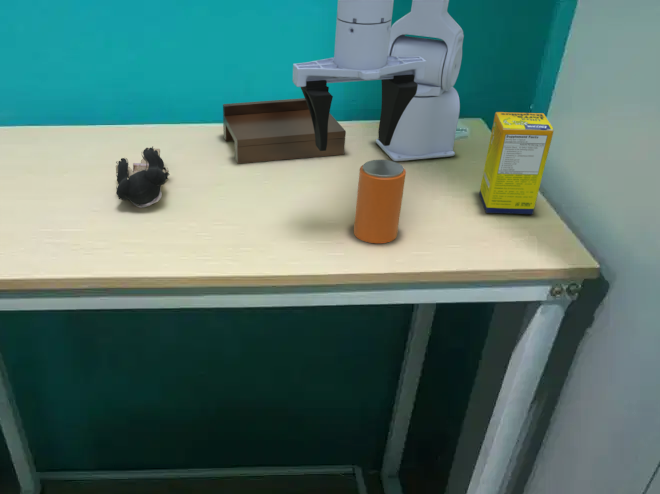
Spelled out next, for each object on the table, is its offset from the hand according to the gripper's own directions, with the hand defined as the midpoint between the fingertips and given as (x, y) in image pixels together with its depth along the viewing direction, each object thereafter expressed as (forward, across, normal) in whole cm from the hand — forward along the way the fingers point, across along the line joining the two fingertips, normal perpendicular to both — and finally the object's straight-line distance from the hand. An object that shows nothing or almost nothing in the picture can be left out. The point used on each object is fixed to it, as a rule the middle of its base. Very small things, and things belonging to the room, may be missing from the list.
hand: (352, 145), depth 85 cm
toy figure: (+10, -24, +15) cm, 30 cm away
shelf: (+10, -2, +26) cm, 28 cm away
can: (+10, +2, -4) cm, 11 cm away
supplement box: (+10, +21, 0) cm, 23 cm away
